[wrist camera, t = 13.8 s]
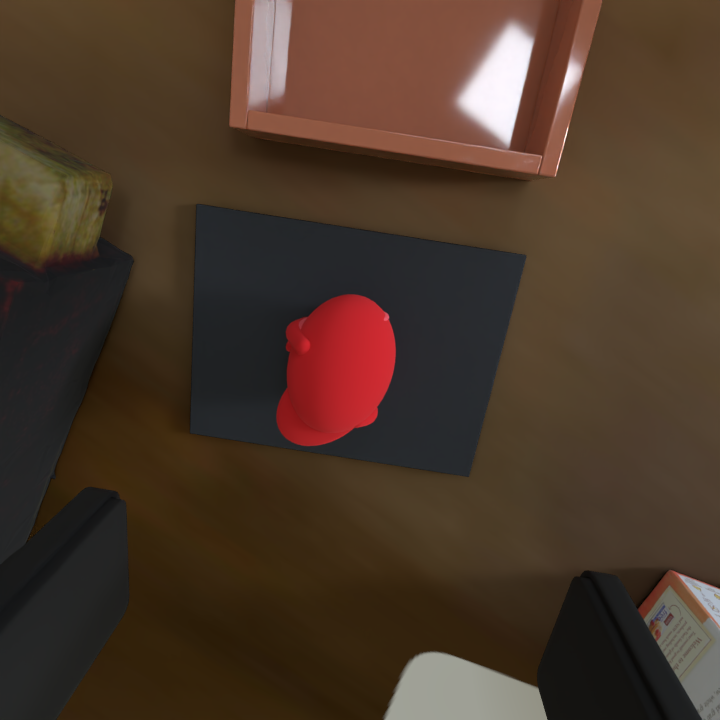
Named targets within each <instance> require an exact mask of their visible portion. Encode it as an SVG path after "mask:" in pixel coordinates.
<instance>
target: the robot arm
mask: <svg viewBox="0 0 720 720" xmlns="http://www.w3.org/2000/svg"><path fill="white" fill-rule="evenodd" d="M128 602H129V573H128V544H127V514H126V502H125V501H124V500H120V497H119V494H118V492H116V491H111V490H105V489H99V488H93V487H87V488H85V489H84V490H82V491H81V492H80V493H79V494H78V495H77V496H76V497H75V498H74V499H73V500H71V501H70V502H69V503H68V504H67V505H66V506H65V507H64V508H63V509H62V510H61V511H60V512H59V513H58V514H57V515H55V516H54V517H53V518H52V519H51V520H50V521H49V522H48V523H47V524H46V525H45V526H44V527H43V528H42V529H41V530H40V531H38V532H37V533H36V534H35V535H34V536H33V537H32V538H31V539H30V540H29V541H28V542H27V543H26V544H25V545H24V546H22V547H21V548H20V549H19V550H17V551H16V552H14V553H13V554H12V555H10V556H9V557H8V558H7V559H6V560H5V561H4V562H3V563H2V564H1V565H0V720H56V719H57V717H58V716H59V714H60V713H61V711H62V710H63V708H64V707H65V705H66V703H67V702H68V700H69V699H70V697H71V696H72V694H73V693H74V691H75V690H76V688H77V687H78V685H79V683H80V682H81V680H82V679H83V677H84V676H85V674H86V673H87V671H88V670H89V668H90V666H91V665H92V663H93V662H94V660H95V659H96V657H97V656H98V654H99V653H100V651H101V649H102V648H103V646H104V645H105V643H106V642H107V640H108V639H109V637H110V636H111V634H112V633H113V631H114V629H115V628H116V626H117V625H118V623H119V622H120V620H121V619H122V617H123V615H124V613H125V611H126V609H127V606H128ZM537 681H538V688H539V692H540V695H541V699H542V702H543V705H544V709H545V712H546V716H547V719H548V720H702V718H701V716H700V715H699V713H698V711H697V710H696V708H695V706H694V705H693V703H692V701H691V699H690V698H689V696H688V694H687V693H686V691H685V689H684V687H683V686H682V684H681V682H680V681H679V679H678V677H677V676H676V674H675V672H674V670H673V669H672V667H671V666H670V664H669V662H668V660H667V659H666V657H665V655H664V654H663V652H662V650H661V649H660V647H659V645H658V643H657V642H656V640H655V638H654V637H653V635H652V633H651V631H650V630H649V628H648V626H647V625H646V623H645V621H644V620H643V618H642V616H641V614H640V613H639V611H638V609H637V608H636V606H635V604H634V602H633V601H632V599H631V597H630V596H629V594H628V592H627V591H626V589H625V587H624V585H623V584H622V582H621V581H620V579H619V578H618V577H617V576H615V575H611V574H605V573H599V572H593V571H584V572H583V573H582V574H581V576H580V577H574V578H573V580H572V582H571V584H570V587H569V590H568V592H567V595H566V597H565V600H564V603H563V605H562V608H561V610H560V613H559V615H558V618H557V621H556V623H555V626H554V628H553V631H552V634H551V636H550V639H549V641H548V644H547V646H546V649H545V652H544V654H543V657H542V659H541V662H540V665H539V668H538V673H537Z"/></svg>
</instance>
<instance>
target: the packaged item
mask: <svg viewBox="0 0 720 720" xmlns="http://www.w3.org/2000/svg"><path fill="white" fill-rule="evenodd" d="M112 187H113V184H112V180H111V175H110V174H109V173H107V172H105V171H102V170H100V169H98V168H97V167H95V166H93V165H91V164H89V163H88V162H86V161H84V160H82V159H81V158H79V157H77V156H75V155H73V154H72V153H70V152H68V151H66V150H65V149H63V148H61V147H59V146H57V145H55V144H54V143H52V142H50V141H48V140H46V139H44V138H42V137H40V136H39V135H37V134H35V133H33V132H31V131H29V130H27V129H26V128H24V127H22V126H20V125H18V124H16V123H14V122H12V121H11V120H9V119H7V118H5V117H3V116H1V115H0V565H1V564H2V563H3V562H4V561H5V560H6V559H7V558H8V557H9V556H10V555H12V554H13V553H14V552H16V551H17V550H19V549H20V548H21V547H22V546H24V545H25V544H26V541H27V539H28V537H29V534H30V532H31V530H32V528H33V526H34V524H35V520H36V517H37V513H38V510H39V508H40V505H41V502H42V500H43V497H44V495H45V493H46V490H47V488H48V485H49V482H50V479H51V478H53V479H55V478H56V477H55V473H54V471H55V467H56V464H57V460H58V458H59V456H60V454H61V452H62V449H63V446H64V443H65V440H66V438H67V435H68V433H69V430H70V427H71V424H72V421H73V419H74V417H75V414H76V412H77V410H78V408H79V406H80V405H81V402H82V400H83V397H84V395H85V392H86V389H87V386H88V382H89V379H90V376H91V373H92V371H93V368H94V365H95V363H96V361H97V359H98V357H99V355H100V352H101V349H102V347H103V344H104V341H105V338H106V336H107V334H108V331H109V329H110V326H111V323H112V321H113V318H114V316H115V313H116V310H117V307H118V305H119V302H120V299H121V297H122V294H123V291H124V288H125V285H126V282H127V280H128V277H129V273H130V269H131V267H132V264H133V262H134V260H133V258H132V256H131V255H129V254H127V253H125V252H123V251H121V250H120V249H118V248H117V247H115V246H114V245H112V244H111V243H109V242H108V241H106V240H105V239H103V238H101V237H100V234H101V229H102V225H103V221H104V217H105V214H106V210H107V207H108V204H109V201H110V197H111V192H112Z"/></svg>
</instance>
